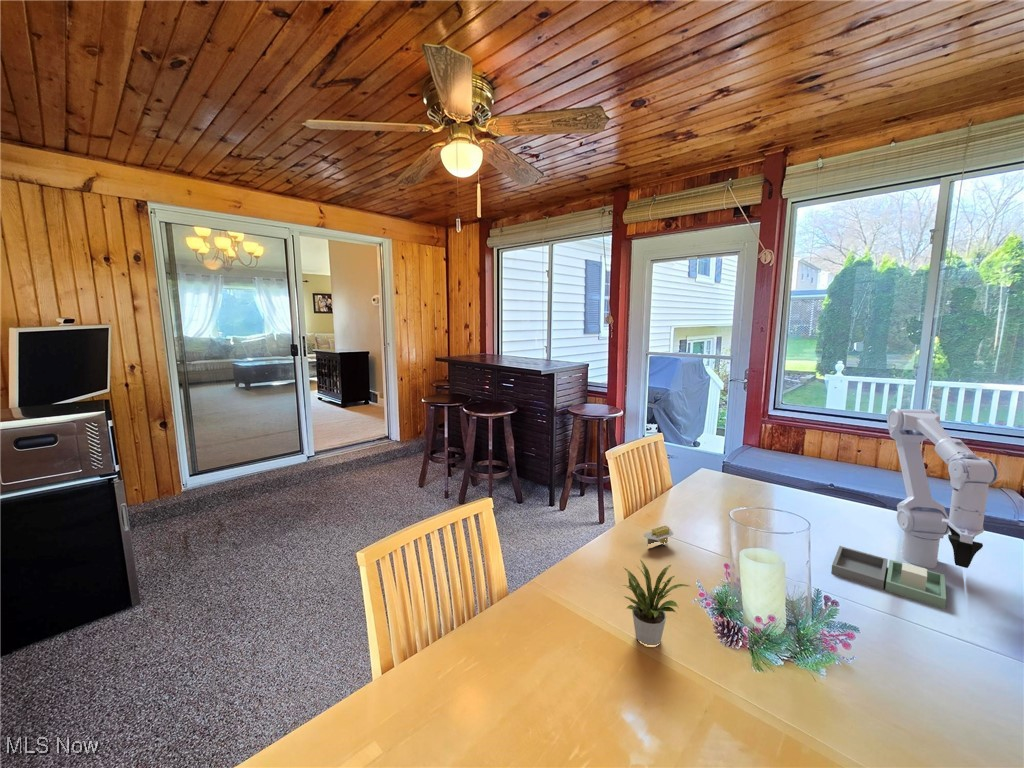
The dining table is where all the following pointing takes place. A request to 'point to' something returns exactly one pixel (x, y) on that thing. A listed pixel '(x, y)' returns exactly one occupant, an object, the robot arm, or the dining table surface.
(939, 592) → the tray
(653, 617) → the house plant
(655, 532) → the platform
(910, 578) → the stone block
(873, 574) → the tray
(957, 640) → the dining table surface
